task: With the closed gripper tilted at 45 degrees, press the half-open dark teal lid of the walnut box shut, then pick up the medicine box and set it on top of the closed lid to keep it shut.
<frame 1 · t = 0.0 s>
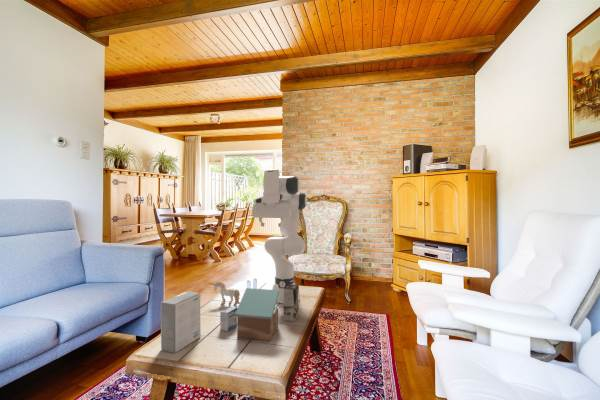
hand: (271, 226, 151), 48 cm above the table, tool pointing down, fingers open, 8 cm apart
lid: (258, 303, 134), point 14 cm above the table, hinge at 30.0°
coffee box: (291, 317, 153), on the table
hard drive box: (181, 344, 124), on the table
unicorn figurine: (223, 306, 169), on the table
walnut box: (258, 333, 135), on the table
medicine box: (228, 327, 141), on the table
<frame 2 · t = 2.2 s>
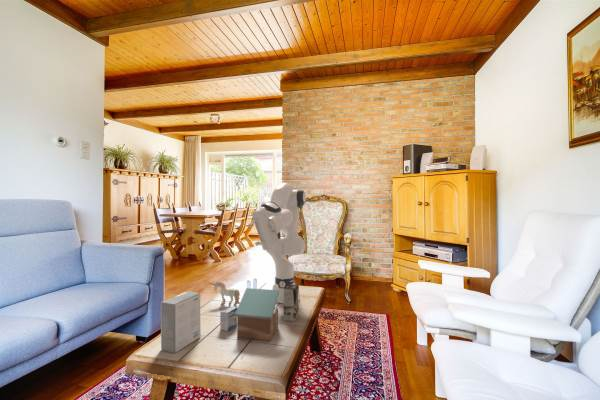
hand: (253, 234, 137), 45 cm above the table, tool tilted 75°, fingers open, 8 cm apart
nothing on the table moved.
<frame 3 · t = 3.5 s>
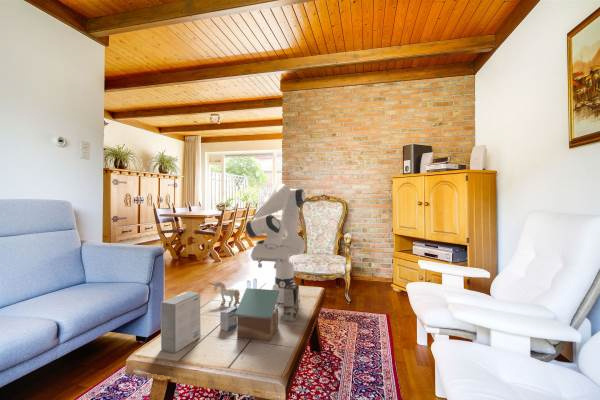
hand: (267, 267, 148), 27 cm above the table, tool tilted 45°, fingers open, 7 cm apart
nothing on the table moved.
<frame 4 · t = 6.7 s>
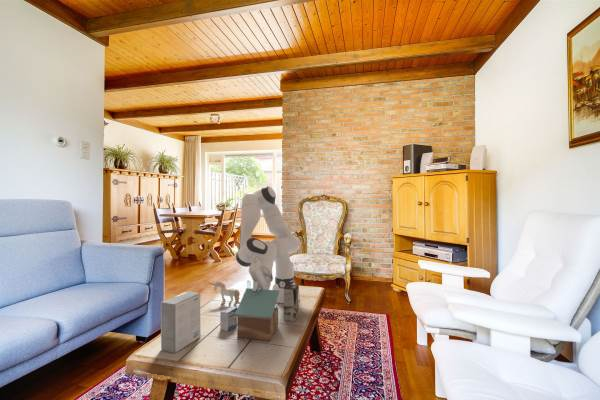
hand: (254, 292, 137), 18 cm above the table, tool tilted 50°, fingers closed
lid: (258, 303, 134), point 14 cm above the table, hinge at 29.6°, touching gripper
everything else where it was.
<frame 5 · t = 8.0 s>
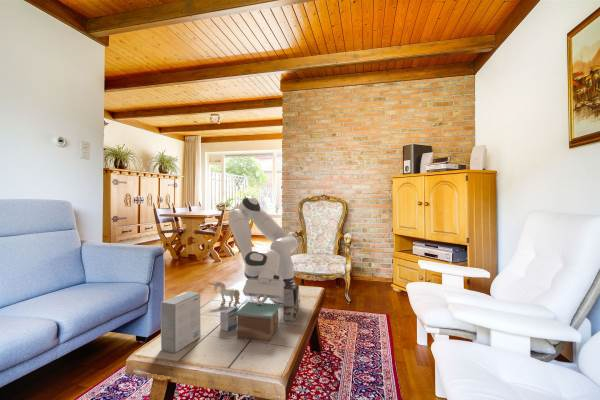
hand: (259, 304, 138), 12 cm above the table, tool tilted 45°, fingers closed, pressing on lid
lid: (258, 310, 135), point 11 cm above the table, hinge at -0.4°, touching gripper
everything else where it was.
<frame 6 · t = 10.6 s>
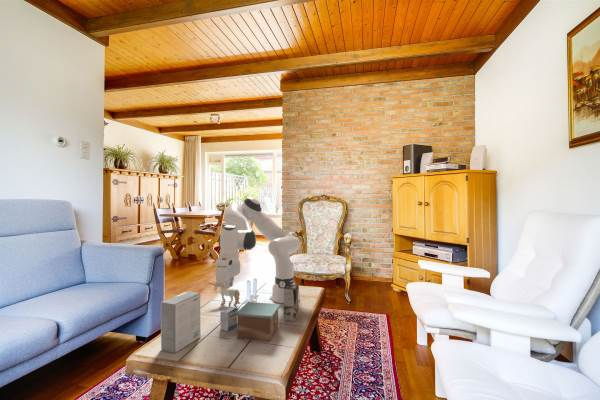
hand: (228, 287, 141), 19 cm above the table, tool pointing down, fingers closed
lid: (258, 310, 135), point 11 cm above the table, hinge at -0.4°
everything else where it was.
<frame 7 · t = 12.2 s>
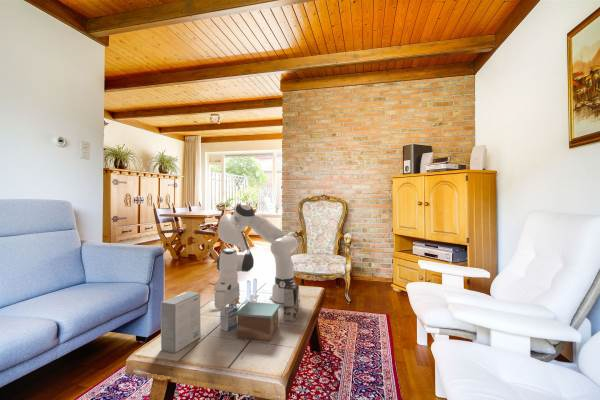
hand: (227, 311, 141), 8 cm above the table, tool pointing down, fingers open, 8 cm apart
medicine box: (228, 328, 141), on the table, touching gripper
everything else where it was.
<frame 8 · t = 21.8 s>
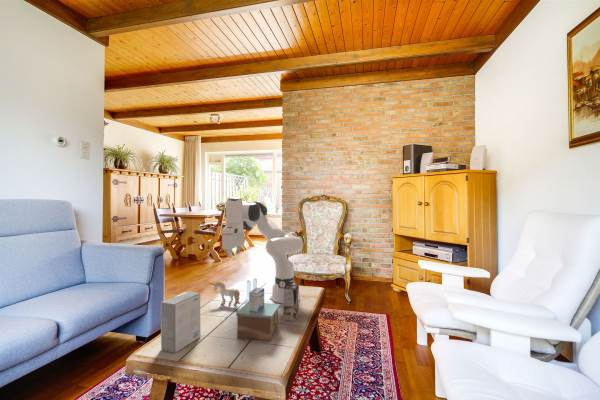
hand: (234, 255, 149), 33 cm above the table, tool pointing down, fingers open, 8 cm apart
lid: (258, 310, 135), point 11 cm above the table, hinge at -0.4°, touching medicine box
medicine box: (256, 309, 135), point 11 cm above the table, touching lid
everything else where it was.
at the end: lid at +0° (first picture: +30°); medicine box inside the target area on the walnut box (1.0 cm from its centre), point 10.9 cm above the walnut box's base; medicine box tilted 0° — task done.
